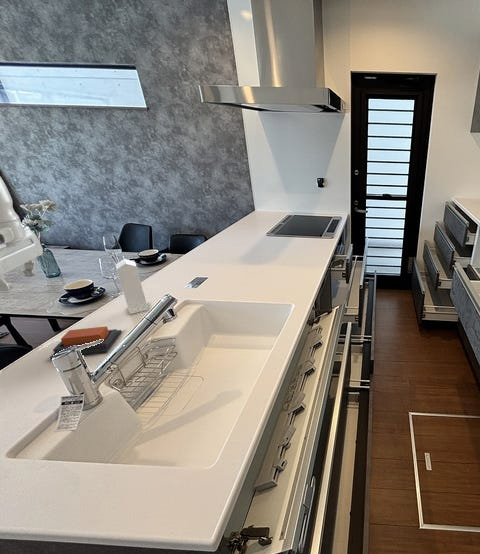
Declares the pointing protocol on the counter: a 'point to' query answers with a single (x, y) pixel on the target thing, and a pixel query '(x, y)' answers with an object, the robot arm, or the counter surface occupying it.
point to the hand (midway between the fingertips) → (19, 282)
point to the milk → (131, 286)
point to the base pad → (97, 348)
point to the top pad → (84, 336)
